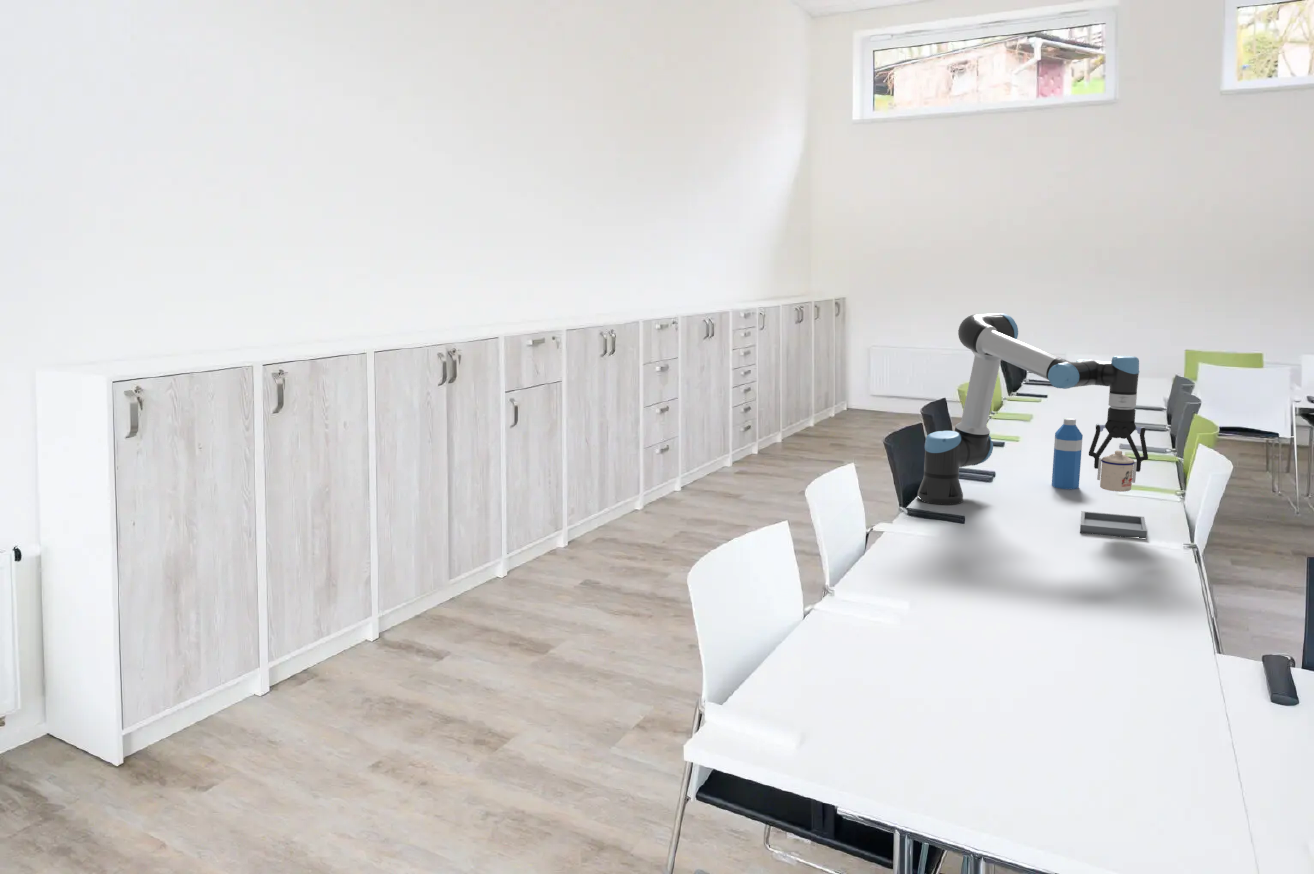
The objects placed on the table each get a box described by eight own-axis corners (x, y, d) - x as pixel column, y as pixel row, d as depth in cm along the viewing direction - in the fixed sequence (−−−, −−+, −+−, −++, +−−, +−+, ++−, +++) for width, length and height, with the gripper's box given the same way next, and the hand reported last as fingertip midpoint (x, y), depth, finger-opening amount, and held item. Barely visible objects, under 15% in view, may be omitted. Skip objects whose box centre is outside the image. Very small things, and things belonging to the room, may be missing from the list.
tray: (1079, 533, 297) (1080, 524, 296) (1080, 518, 313) (1081, 511, 312) (1146, 539, 289) (1146, 531, 289) (1143, 524, 306) (1144, 516, 305)
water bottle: (1081, 485, 360) (1086, 418, 355) (1076, 490, 352) (1081, 421, 347) (1054, 482, 365) (1058, 416, 360) (1049, 487, 357) (1053, 419, 352)
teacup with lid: (1127, 493, 291) (1130, 455, 289) (1095, 489, 297) (1098, 451, 295) (1138, 486, 300) (1141, 449, 298) (1106, 482, 306) (1109, 445, 304)
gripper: (1082, 407, 295) (1077, 479, 299) (1163, 411, 287) (1156, 486, 291) (1082, 403, 302) (1077, 475, 306) (1161, 407, 293) (1155, 481, 297)
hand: (1115, 480), depth 298 cm, fingers closed on teacup with lid, 9 cm apart
